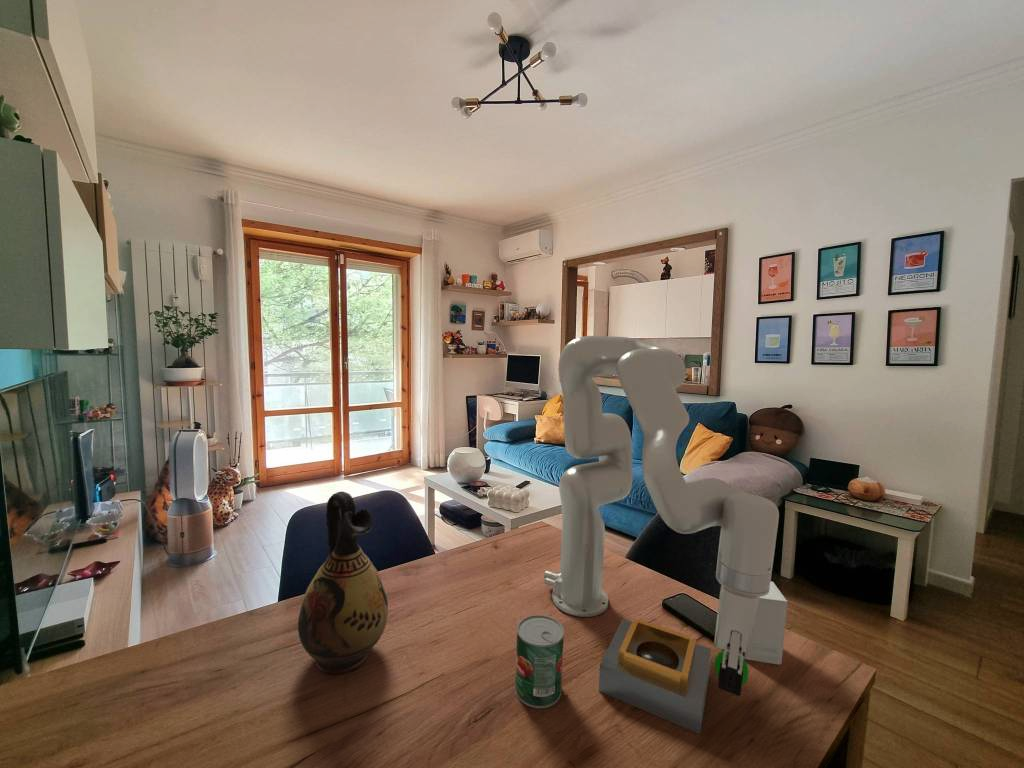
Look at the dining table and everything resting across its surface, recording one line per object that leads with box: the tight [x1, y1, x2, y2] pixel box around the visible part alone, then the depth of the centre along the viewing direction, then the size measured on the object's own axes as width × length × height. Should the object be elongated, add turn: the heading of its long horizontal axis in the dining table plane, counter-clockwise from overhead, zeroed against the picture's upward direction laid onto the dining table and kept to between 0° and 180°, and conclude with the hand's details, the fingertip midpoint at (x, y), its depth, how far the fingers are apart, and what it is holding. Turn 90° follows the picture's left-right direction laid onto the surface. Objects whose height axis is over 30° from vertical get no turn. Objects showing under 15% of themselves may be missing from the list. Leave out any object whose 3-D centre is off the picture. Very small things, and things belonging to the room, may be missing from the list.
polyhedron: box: [714, 650, 749, 686], centre depth 71 cm, size 5×5×5 cm
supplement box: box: [743, 581, 788, 665], centre depth 86 cm, size 7×7×13 cm
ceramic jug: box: [297, 491, 389, 676], centre depth 81 cm, size 17×15×30 cm
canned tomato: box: [514, 614, 565, 709], centre depth 75 cm, size 8×8×11 cm
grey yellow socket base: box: [598, 618, 712, 735], centre depth 78 cm, size 16×17×7 cm
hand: (730, 677), depth 72 cm, fingers closed on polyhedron, 5 cm apart
